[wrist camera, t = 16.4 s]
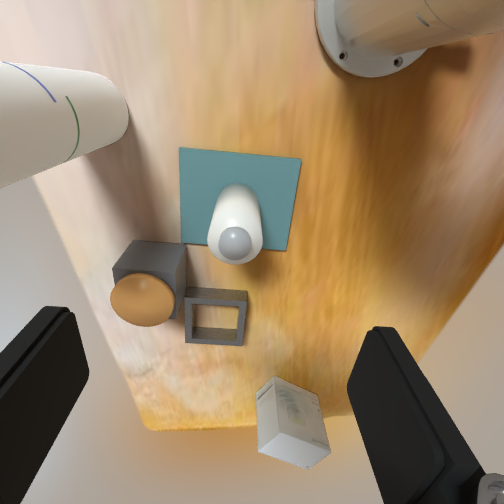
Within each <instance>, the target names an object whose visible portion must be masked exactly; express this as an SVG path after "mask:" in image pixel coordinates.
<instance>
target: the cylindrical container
mask: <svg viewBox="0 0 504 504" xmlns="http://www.w3.org/2000/svg"><path fill="white" fill-rule="evenodd" d="M128 121H129V113H128V108H127V104H126V101H125V99H124V97H123V95H122V94H121V92H120V91H119V89H118V88H117V87H116V86H115V85H114V84H113V83H112V82H111V81H110V80H109V79H107V78H106V77H104V76H102V75H100V74H97V73H94V72H89V71H81V70H72V69H64V68H55V67H46V66H37V65H28V64H19V63H10V62H1V61H0V188H2V187H4V186H7V185H9V184H12V183H15V182H17V181H20V180H22V179H25V178H27V177H29V176H32V175H35V174H37V173H40V172H42V171H45V170H47V169H50V168H52V167H55V166H57V165H59V164H62V163H64V162H67V161H69V160H72V159H74V158H77V157H79V156H82V155H84V154H87V153H89V152H92V151H94V150H97V149H99V148H102V147H104V146H107V145H110V144H112V143H115V142H116V141H118V140H119V139H120V138H121V137H122V136H123V135H124V133H125V132H126V130H127V126H128Z"/></svg>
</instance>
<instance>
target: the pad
mask: <svg viewBox="0 0 504 504" xmlns="http://www.w3.org/2000/svg"><path fill="white" fill-rule="evenodd" d="M300 165H301V159H297V158H287V157H276V156H266V155H255V154H245V153H234V152H224V151H213V150H203V149H192V148H182V147H180V148H179V172H180V211H181V243H193V244H206V245H208V242H207V237H208V232H209V229H210V225H211V221H212V217H213V213H214V209H215V205H216V201H217V197H218V195H219V193H220V191H221V190H222V189H223V188H224V187H226V186H227V185H230V184H233V183H242V184H245V185H248V186H249V187H251V188H252V189H253V190H254V191H255V193H256V194H257V197H258V200H259V209H260V219H261V228H262V237H263V244H262V247H261V249H272V250H285V251H286V246H287V241H288V235H289V229H290V223H291V217H292V211H293V206H294V200H295V194H296V188H297V182H298V177H299V171H300Z"/></svg>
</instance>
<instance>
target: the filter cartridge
mask: <svg viewBox="0 0 504 504" xmlns="http://www.w3.org/2000/svg"><path fill="white" fill-rule="evenodd" d="M207 242H208V246H209V249H210V251H211V252H212V254H213V255H214V256H215V257H216V258H217V259H219V260H220V261H222V262H225V263H228V264H243V263H246V262H249V261H251V260H252V259H254V258H255V257H256V256H257V255H258V253H259V252H260V250H261V247H262V244H263V237H262V228H261V219H260V209H259V200H258V197H257V194H256V193H255V191H254V190H253V189H252V188H251V187H249V186H248V185H245V184H242V183H233V184H230V185H227V186H226V187H224V188H223V189H222V190H221V191H220V193H219V195H218V197H217V201H216V205H215V209H214V213H213V217H212V221H211V225H210V229H209V232H208V237H207Z"/></svg>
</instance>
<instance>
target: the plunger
mask: <svg viewBox="0 0 504 504" xmlns="http://www.w3.org/2000/svg"><path fill="white" fill-rule="evenodd" d="M110 301H111V305H112V308H113V309H114V311H115V312H116V314H117V315H118V316H119V317H121V318H122V319H123V320H125V321H127V322H129V323H131V324H134V325H137V326H143V327H150V326H156V325H159V324H161V323H163V322H165V321H166V320H167V319H168V318H169V317H170V315H171V313H172V310H173V307H174V303H175V299H174V294H173V292H172V290H171V289H170V287H169V286H168V285H167V284H166V283H165V280H161V279H159V278H157V277H155V276H152V275H149V274H142V273H136V274H130V275H127V276H125V277H123V278H122V279H120V280H119V281H118V283H117V284H116V285H115V287H114V288H113V290H112V292H111V296H110Z"/></svg>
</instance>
